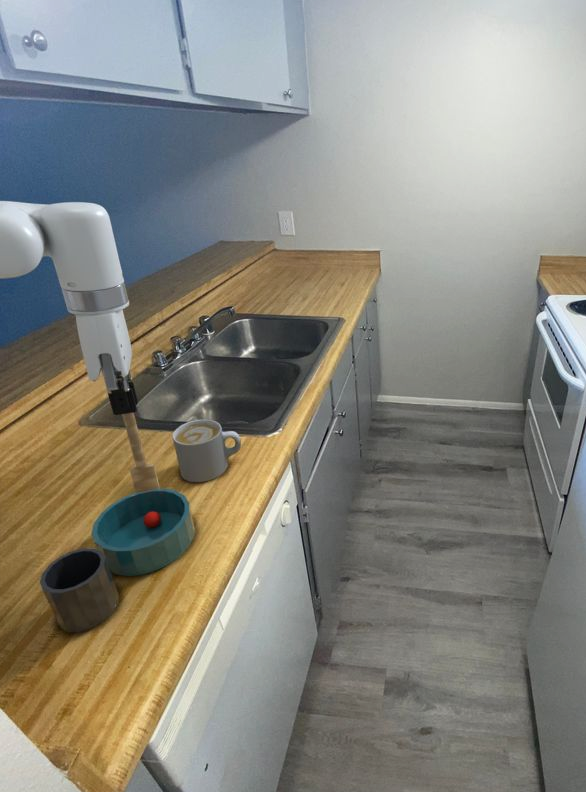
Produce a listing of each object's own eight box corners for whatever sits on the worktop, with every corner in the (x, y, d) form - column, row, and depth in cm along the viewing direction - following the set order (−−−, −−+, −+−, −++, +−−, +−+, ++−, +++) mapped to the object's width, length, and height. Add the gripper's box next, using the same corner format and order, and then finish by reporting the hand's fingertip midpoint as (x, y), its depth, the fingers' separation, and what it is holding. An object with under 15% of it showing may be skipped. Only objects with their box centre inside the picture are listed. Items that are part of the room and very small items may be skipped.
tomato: (152, 533, 89) (137, 526, 88) (158, 525, 92) (144, 517, 91) (160, 521, 89) (145, 513, 88) (166, 513, 92) (152, 505, 91)
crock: (53, 640, 71) (33, 600, 66) (64, 595, 77) (47, 556, 73) (115, 621, 74) (100, 582, 69) (121, 580, 80) (107, 542, 76)
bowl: (94, 587, 79) (85, 561, 76) (107, 523, 92) (98, 499, 89) (195, 560, 84) (189, 536, 82) (193, 503, 97) (188, 481, 94)
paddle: (136, 495, 81) (104, 381, 71) (136, 489, 82) (105, 377, 72) (159, 490, 82) (131, 378, 72) (159, 484, 83) (132, 373, 73)
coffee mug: (176, 484, 102) (167, 447, 97) (185, 457, 111) (177, 421, 106) (241, 477, 105) (235, 440, 100) (244, 451, 113) (239, 416, 109)
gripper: (75, 283, 71) (105, 390, 80) (52, 317, 58) (91, 440, 67) (131, 280, 74) (154, 383, 82) (121, 312, 61) (150, 431, 70)
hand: (126, 408), depth 75 cm, fingers closed on paddle, 1 cm apart
